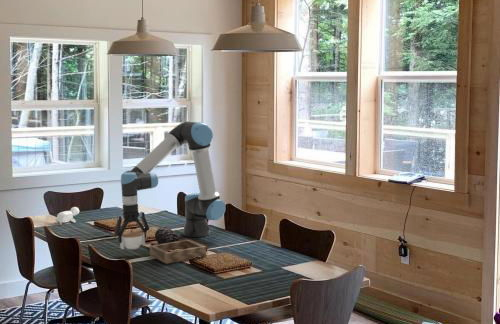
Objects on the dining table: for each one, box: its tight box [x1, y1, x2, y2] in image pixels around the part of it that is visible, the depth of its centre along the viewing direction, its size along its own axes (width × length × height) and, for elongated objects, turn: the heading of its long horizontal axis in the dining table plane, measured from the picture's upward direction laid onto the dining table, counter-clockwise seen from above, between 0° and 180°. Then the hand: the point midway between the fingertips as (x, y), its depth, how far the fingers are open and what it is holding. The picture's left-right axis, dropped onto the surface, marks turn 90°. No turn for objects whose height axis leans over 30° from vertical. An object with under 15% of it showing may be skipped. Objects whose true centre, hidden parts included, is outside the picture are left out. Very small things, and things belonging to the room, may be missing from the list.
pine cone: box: [154, 226, 180, 244], centre depth 382 cm, size 10×18×10 cm, turn 39°
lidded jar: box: [122, 228, 143, 250], centre depth 365 cm, size 11×11×9 cm
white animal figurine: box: [54, 206, 80, 225], centre depth 444 cm, size 9×8×15 cm
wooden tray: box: [149, 238, 207, 264], centre depth 363 cm, size 22×18×5 cm
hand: (132, 246), depth 366 cm, fingers closed on lidded jar, 11 cm apart
